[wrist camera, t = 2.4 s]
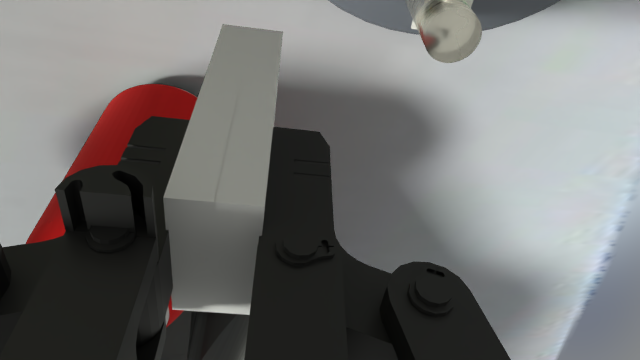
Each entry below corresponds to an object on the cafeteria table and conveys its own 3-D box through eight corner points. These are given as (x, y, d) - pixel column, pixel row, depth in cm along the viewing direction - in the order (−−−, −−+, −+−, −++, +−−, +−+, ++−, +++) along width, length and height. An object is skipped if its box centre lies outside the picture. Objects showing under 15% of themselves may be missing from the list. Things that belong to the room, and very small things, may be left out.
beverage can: (195, 187, 29) (144, 378, 20) (91, 137, 27) (-21, 326, 18) (249, 114, 26) (219, 298, 17) (137, 50, 24) (32, 223, 15)
